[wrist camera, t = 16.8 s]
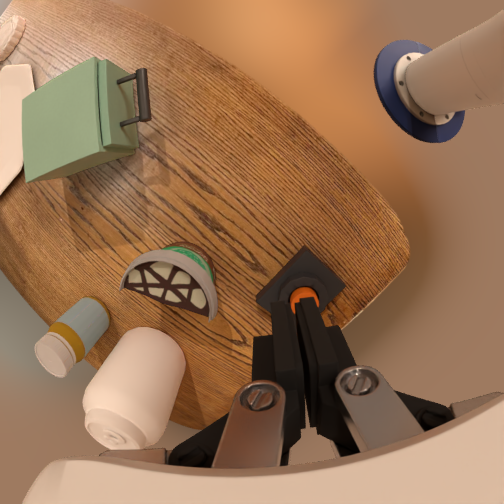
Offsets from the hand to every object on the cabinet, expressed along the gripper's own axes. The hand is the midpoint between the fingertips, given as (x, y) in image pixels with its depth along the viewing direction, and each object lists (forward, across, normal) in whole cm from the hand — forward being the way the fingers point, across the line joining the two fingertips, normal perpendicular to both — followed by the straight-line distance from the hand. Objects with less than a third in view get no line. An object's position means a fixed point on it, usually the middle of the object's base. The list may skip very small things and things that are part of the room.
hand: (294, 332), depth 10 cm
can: (+27, +23, +21) cm, 41 cm away
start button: (+23, -3, +11) cm, 26 cm away
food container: (+27, +12, +4) cm, 30 cm away
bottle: (+27, +32, +12) cm, 44 cm away
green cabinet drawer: (+26, +20, -18) cm, 38 cm away
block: (+27, -3, +11) cm, 29 cm away
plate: (+27, +50, -28) cm, 63 cm away
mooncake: (+27, +50, -52) cm, 77 cm away
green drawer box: (+27, +24, -18) cm, 40 cm away
